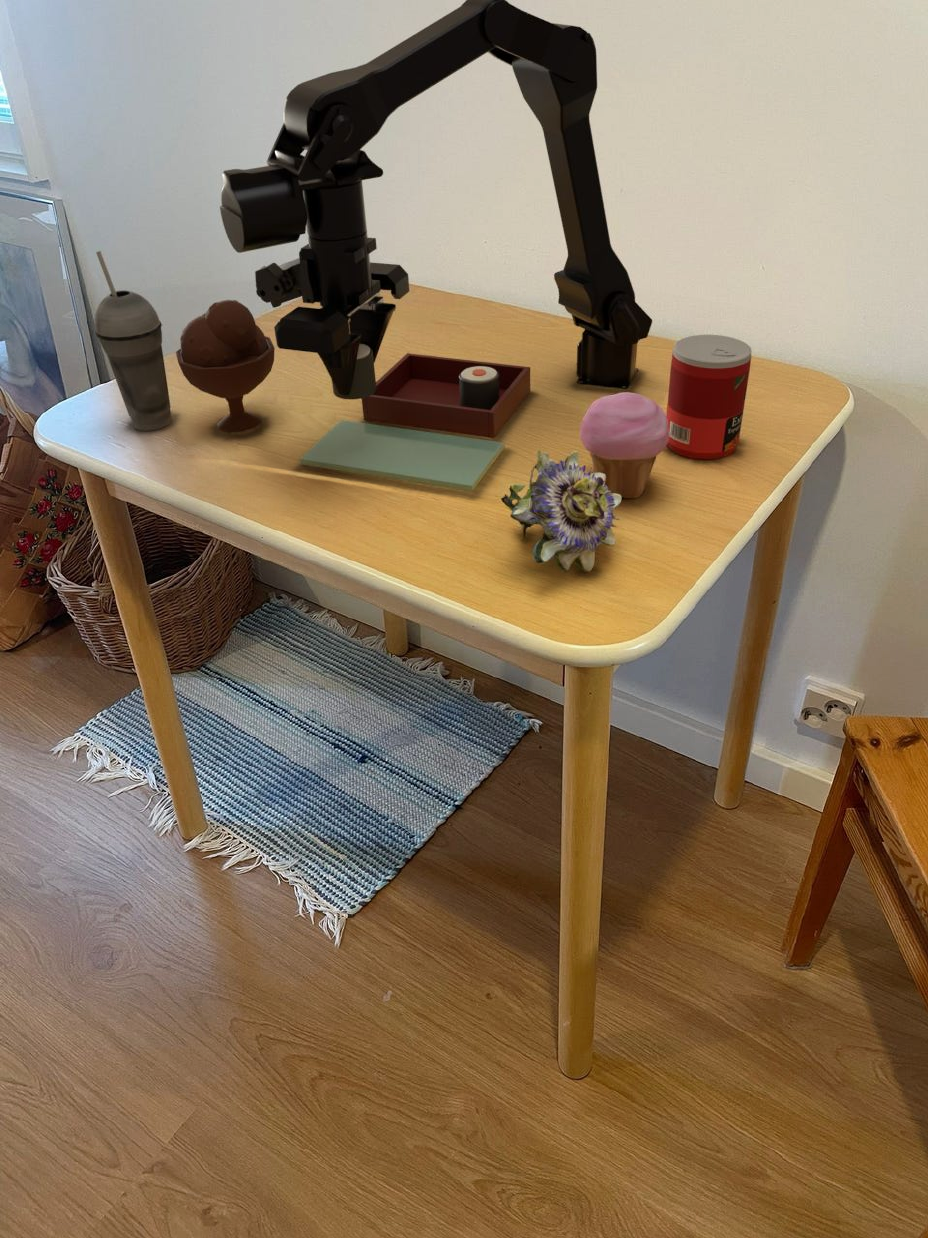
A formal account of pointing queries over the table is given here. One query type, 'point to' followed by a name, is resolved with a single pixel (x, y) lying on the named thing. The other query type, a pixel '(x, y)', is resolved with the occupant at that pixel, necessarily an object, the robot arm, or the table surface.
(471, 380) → the cylinder
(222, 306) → the ice cream bowl
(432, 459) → the plate
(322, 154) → the robot arm
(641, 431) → the cupcake
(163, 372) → the beverage cup
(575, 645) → the table surface
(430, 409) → the sushi box
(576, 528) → the passion flower
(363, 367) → the cylinder
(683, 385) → the canned food
